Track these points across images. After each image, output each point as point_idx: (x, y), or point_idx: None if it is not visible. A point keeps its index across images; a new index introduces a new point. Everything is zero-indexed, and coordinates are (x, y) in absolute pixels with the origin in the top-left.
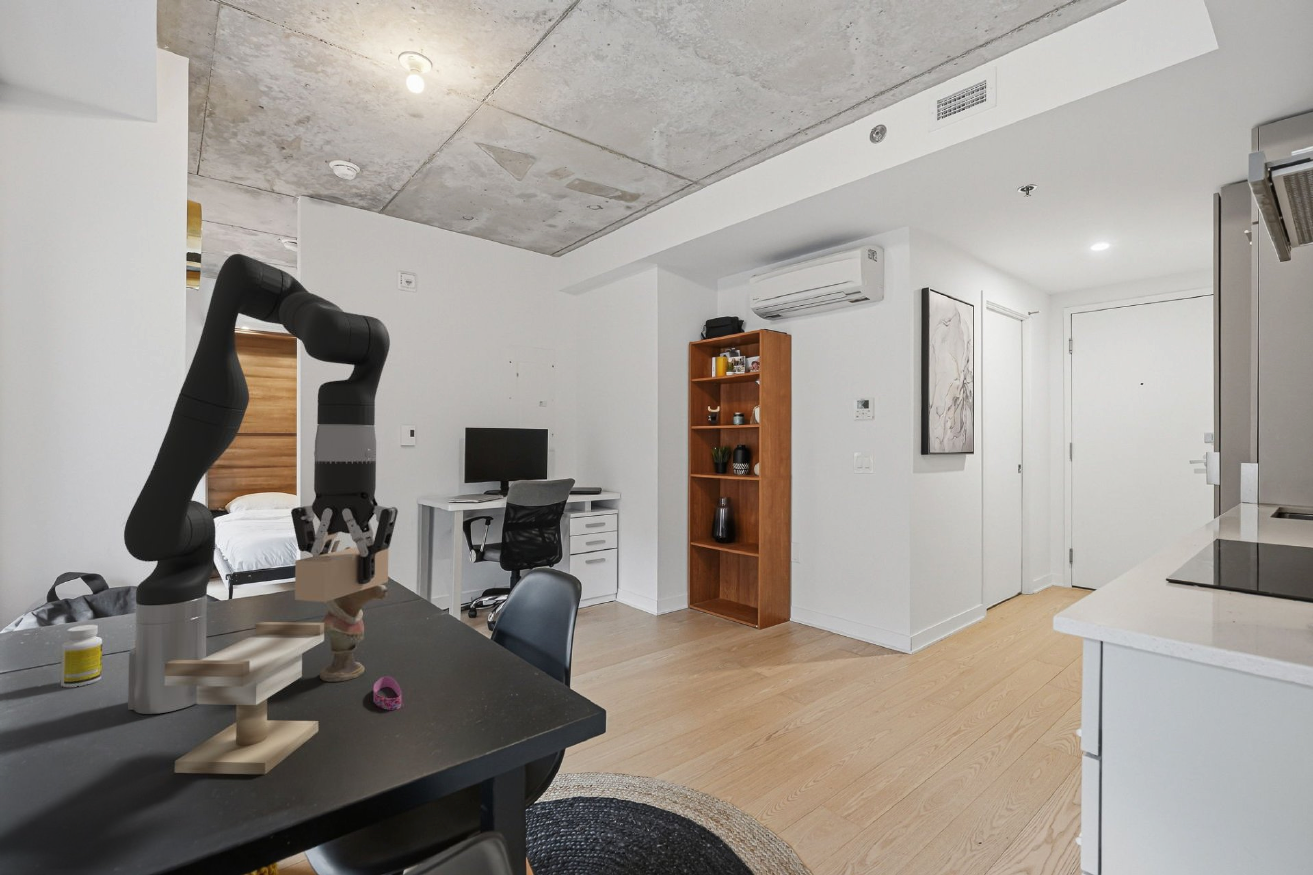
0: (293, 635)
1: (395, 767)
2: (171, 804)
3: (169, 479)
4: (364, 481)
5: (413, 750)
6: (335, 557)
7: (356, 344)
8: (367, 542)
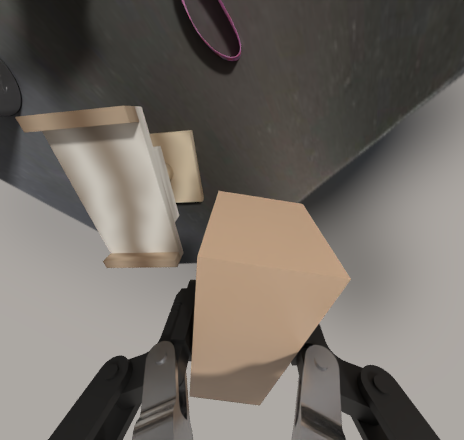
0: (100, 127)
1: (288, 182)
2: (179, 228)
3: None
4: None
5: (293, 156)
6: (249, 383)
7: None
8: (314, 399)
